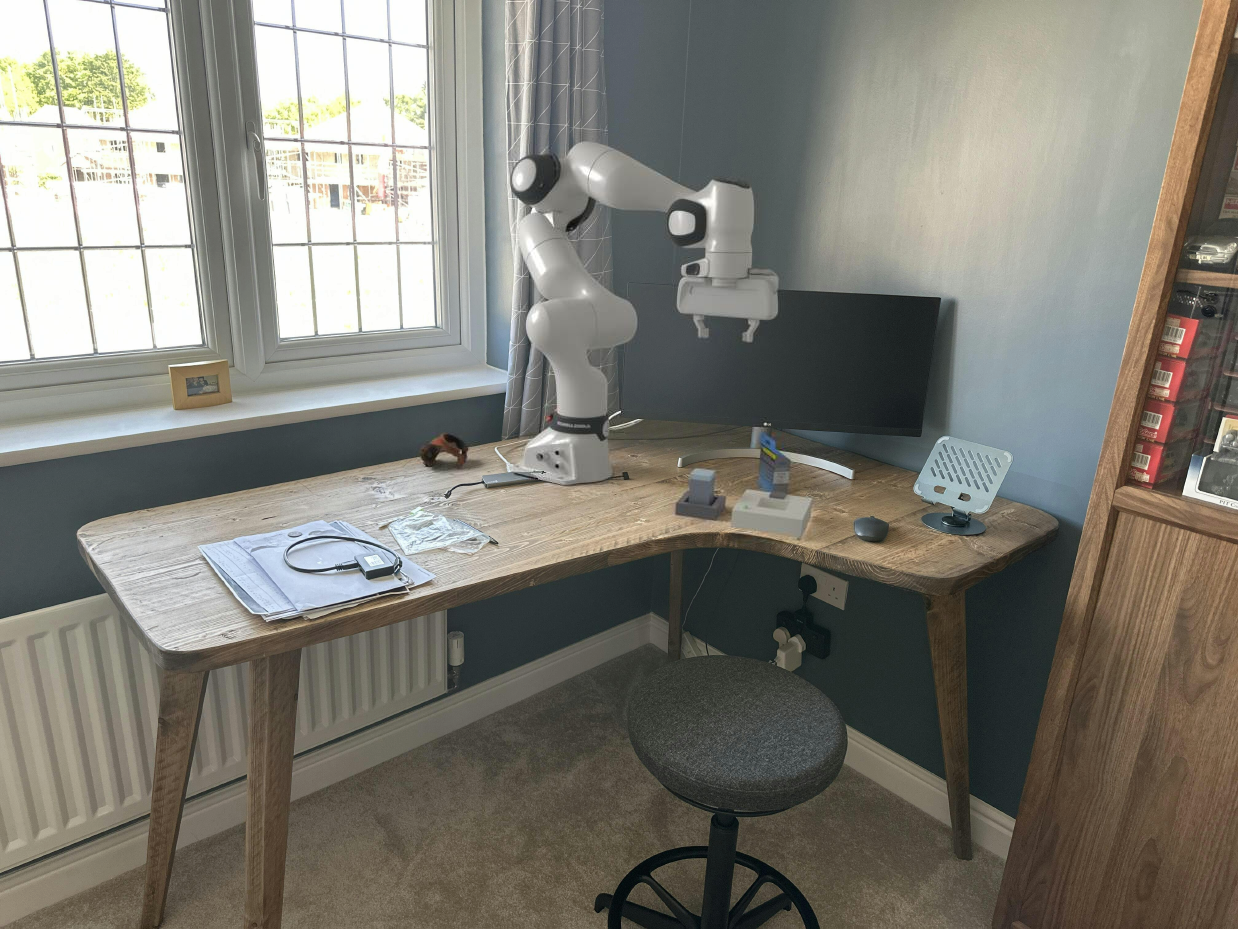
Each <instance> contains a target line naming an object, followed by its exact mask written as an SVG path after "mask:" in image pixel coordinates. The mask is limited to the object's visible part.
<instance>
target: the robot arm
mask: <svg viewBox="0 0 1238 929" xmlns="http://www.w3.org/2000/svg"><path fill="white" fill-rule="evenodd" d="M509 185H510V189H511V192H512V193H513V195H514V196H515V197H516V198H517V199H518V200H519V201H520V202H522V203H523V204H524V205H527V206H529V207H531V208H532V209H531V212H530V213H528V214H526V215H525V216H524V217H522V219H520V222H519V223H518V226H517V229H516V230H517V231H516V235H517V240H518V245H519V249H520V252H521V255H522V257H523V260H524V263H525V265H526V268H527V269H528V271H529V274H530V276H531V277H532V280H533V281H534V284H535V286H536V288H537V291H538V292H539V293H540V294H541V296H543V298H545V299H546V300H545V301H541V302H539V303H535V304H533V306H532V307H531V308H530V309H529V311H528V313H527V316H526V321H525V331H526V335H527V337H528V339H529V342H530V343H531V344H532V345H533V346H534V348H536V349H537V350H539V351H540V352H541V353H542V354H543V355H544V356H545V357H546V359H547V360H548V362H549V364H550V367H551V368H552V371H553V373H554V378H555V386H556V387H555V388H556V408H555V409H554V411H553V412H551V413H549V415H547V416H546V417H545V418H546V420H545V421H546V422H549V426H548V427H547V428H545V429H544V430H543V431H541V432H539V434H537V435H536V436H535V437H534V438H532V439H531V440H529V441H528V442H527V444H526V445H525V448H524V451H523V456H522V457H523V458H522V459H521V460H518V461H517V462H516V463H515V464H514V465H513V467H512V473H513V472H533V471H534V470H535V471H544V472H546V473H543V474H541V473H531V474H533V475H535V476H536V477H537V478H538V479H537V480H541V481H544V482H549V483H553V484H558V485H562V486H572V485H576V484H583V483H584V484H585V483H586V484H587V483H593V482H595V483H596V482H600V481H604V480H607V479H609V478H611V477H612V476H613V474H614V471H613V468H612V464H611V460H610V458H611V457H610V454H609V453H610V451H609V442H608V438H609V432H610V415H609V412H608V385H609V384H608V379H607V377H606V375H605V373H604V372H602V370H600V369H598V368H597V367H595V366H593V365H591V364H590V363H589V362H590V361H589V359H588V350H594V349H595V350H596V349H609V348H613V347H617V346H620V345H624V344H625V343H628V342H630V341H632V339H633V338H634V336H635V334H636V332H637V329H638V328H637V327H638V316H637V311H636V309H635V308H634V305H632V303H631V302H630V301H628V300H626V299H624V298H622V297H619V295H616V294H614V293H613V292H611V291H609V290H608V289H607V288H606V287H604V285H602V284H601V283H599V282H598V281H597V280H596V279H595V278H594V277H593V276H592V275H591V274H590V273H589V272H588V271H587V269H586V267H585V266H584V264H583V263H582V261H581V260H580V258H579V255H578V254H577V252H576V250H575V249H574V246H573V245H572V242H571V241H570V239H569V237H568V235H567V233H568V232H573V231H575V230H577V228H578V226H579V227H580V226H581V225H583V223H585V222H586V221H587V220H588V219H589V218H590V216H591V215H592V213H593V212H594V210H595V207H596V202H598V203H599V204H602V205H604V206H607V207H610V208H614V209H618V210H623V211H655V212H656V211H658V212H664V213H666V216H665V221H664V222H665V229H666V230H665V231H666V234H667V237H668V239H669V240H670V242H672V244H674V245H675V246H676V247H681V248H684V249H696V248H697V249H702V248H703V249H705V256H704V258H700V259H697V260H695V261H692V262H689V263H686V264H683V265H682V266H681V268H680V269H681V270H680V272H681V275H682V278H681V279H680V280H679V283H678V286H677V296H676V298H677V299H676V308H677V311H678V312H679V313H680V314H685V315H686V314H687V315H693V316H692V317H693V319H692V320H693V322H694V324H695V326H696V328H697V329H698V331H697V334H698V335H697V336H698V339H708V338H709V336H710V335H709V332H710V328H708V327H707V328H706V326H705V324H704V321H703V320H705V316H708V317H709V316H711V317H723V318H725V317H726V318H735V319H737V318H739V319H748V320H747V321H748V322H747V324H748V325H750V326H749V327H748V329H747V331H745V332H742V340H741V341H742V343H752V342H753V340H754V333H755V331H756V330H757V328H758V326H759V325H760V320H762V321H769V320H774V319H775V318H776V317H777V315H778V313H779V300H778V290H779V285H780V283H779V282H780V279H779V276H778V274H777V273H775V272H774V271H773V270H772V269H768V268H767V269H766V268H765V269H760V268H752V262H753V247H752V243H751V242H752V241H751V240H752V239H751V238H752V233H753V230H754V222H755V221H754V219H755V204H754V203H755V201H754V193H753V189H752V187H751V185H750V184H749V183H747V182H746V181H744V180H742V179H736V178H729V177H715V178H713V179H712V180H710V181H709V183H708V184H707V185H706V186H705V187H703V189H702V188H701V190H699V191H698V190H696V189H693V188H691V187H689V186H686V185H684V184H682V183H680V182H677V181H675V180H673V179H670V178H668V177H666V176H665V175H663V174H661V173H660V172H657V171H655V170H653V169H652V168H650V167H649V166H647V165H644V164H643V163H642V162H639V161H638V160H636V159H634V158H633V157H631V156H629V155H627V154H626V153H623V152H621V151H619V150H617V149H615V148H614V147H611V146H609V145H605V144H603V143H598V142H594V141H586V140H585V141H580V142H578V143H576V144H575V145H574V146H572V148H570V150H569V152H568V153H567V155H566V156H565V157H564V158H559V157H558V156H557V155H556V154H555V153H553V152H550V153H545V154H535V153H534V154H528V155H525V156H523V157H521V159H519V160H518V161H517V162H516V163H515V165H514V167H513V168H512V170H511V173H510V179H509Z"/></svg>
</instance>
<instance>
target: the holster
mask: <svg viewBox="0 0 1238 929" xmlns="http://www.w3.org/2000/svg"><path fill="white" fill-rule="evenodd" d="M726 500H727V496H726V495H719V494H714V501H713V505H712V506H709V505H702V504H695V503H689V490H687V491H685V493H684V494H682V496H681V497H679V499H678V500H677V501H676V502H675V511H674V512H675V514H674V515H675V516H681V517H682V516H683V517H687V518H688V517H689V518H695V519H702V520H707V521H708V520H709V521H714V522H715V521H717V519H718V518H719V517H720V515H721V514H722V512H723V511H724V510H725V508H726V504H727V503H726Z"/></svg>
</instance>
